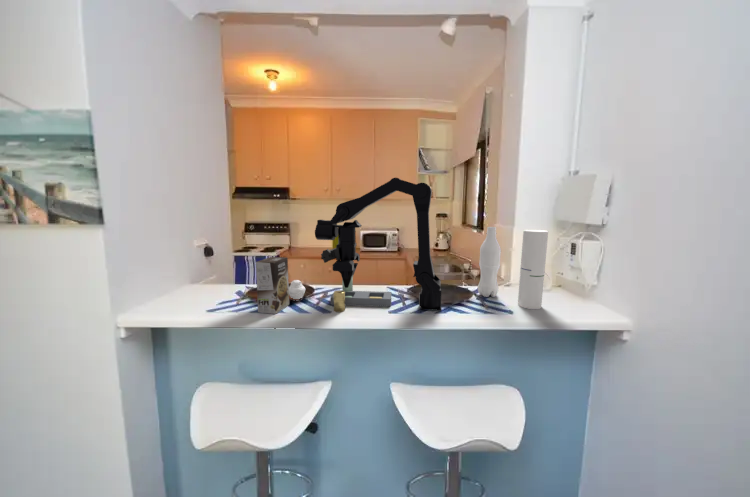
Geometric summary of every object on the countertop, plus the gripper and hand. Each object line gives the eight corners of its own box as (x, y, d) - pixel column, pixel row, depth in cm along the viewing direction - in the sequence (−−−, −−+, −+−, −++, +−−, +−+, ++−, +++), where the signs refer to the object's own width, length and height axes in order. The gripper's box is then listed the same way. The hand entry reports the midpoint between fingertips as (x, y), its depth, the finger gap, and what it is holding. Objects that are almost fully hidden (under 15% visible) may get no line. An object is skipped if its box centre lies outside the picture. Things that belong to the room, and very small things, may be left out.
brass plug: (345, 308, 103) (345, 290, 102) (343, 312, 99) (343, 293, 98) (335, 308, 103) (335, 290, 102) (332, 311, 100) (332, 293, 99)
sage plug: (343, 288, 111) (343, 271, 110) (353, 288, 111) (353, 272, 110) (341, 291, 108) (341, 274, 107) (351, 291, 107) (351, 274, 107)
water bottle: (499, 294, 118) (504, 227, 114) (495, 299, 112) (500, 228, 108) (480, 291, 122) (484, 226, 118) (474, 296, 116) (478, 227, 112)
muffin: (292, 295, 116) (291, 277, 114) (308, 297, 114) (307, 278, 113) (284, 301, 110) (283, 281, 108) (301, 302, 108) (300, 282, 107)
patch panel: (391, 298, 113) (391, 291, 112) (390, 306, 105) (390, 298, 104) (335, 297, 114) (335, 289, 114) (330, 304, 106) (330, 296, 106)
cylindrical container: (522, 300, 112) (528, 229, 108) (544, 305, 107) (551, 230, 103) (514, 305, 107) (519, 230, 103) (536, 310, 102) (543, 232, 98)
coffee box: (276, 314, 97) (274, 262, 95) (257, 312, 99) (254, 261, 96) (290, 304, 106) (288, 256, 104) (272, 303, 107) (270, 256, 105)
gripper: (329, 236, 116) (330, 278, 119) (315, 244, 98) (317, 293, 101) (359, 237, 116) (359, 279, 118) (351, 244, 97) (352, 294, 100)
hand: (347, 286), depth 109 cm, fingers closed on sage plug, 3 cm apart
